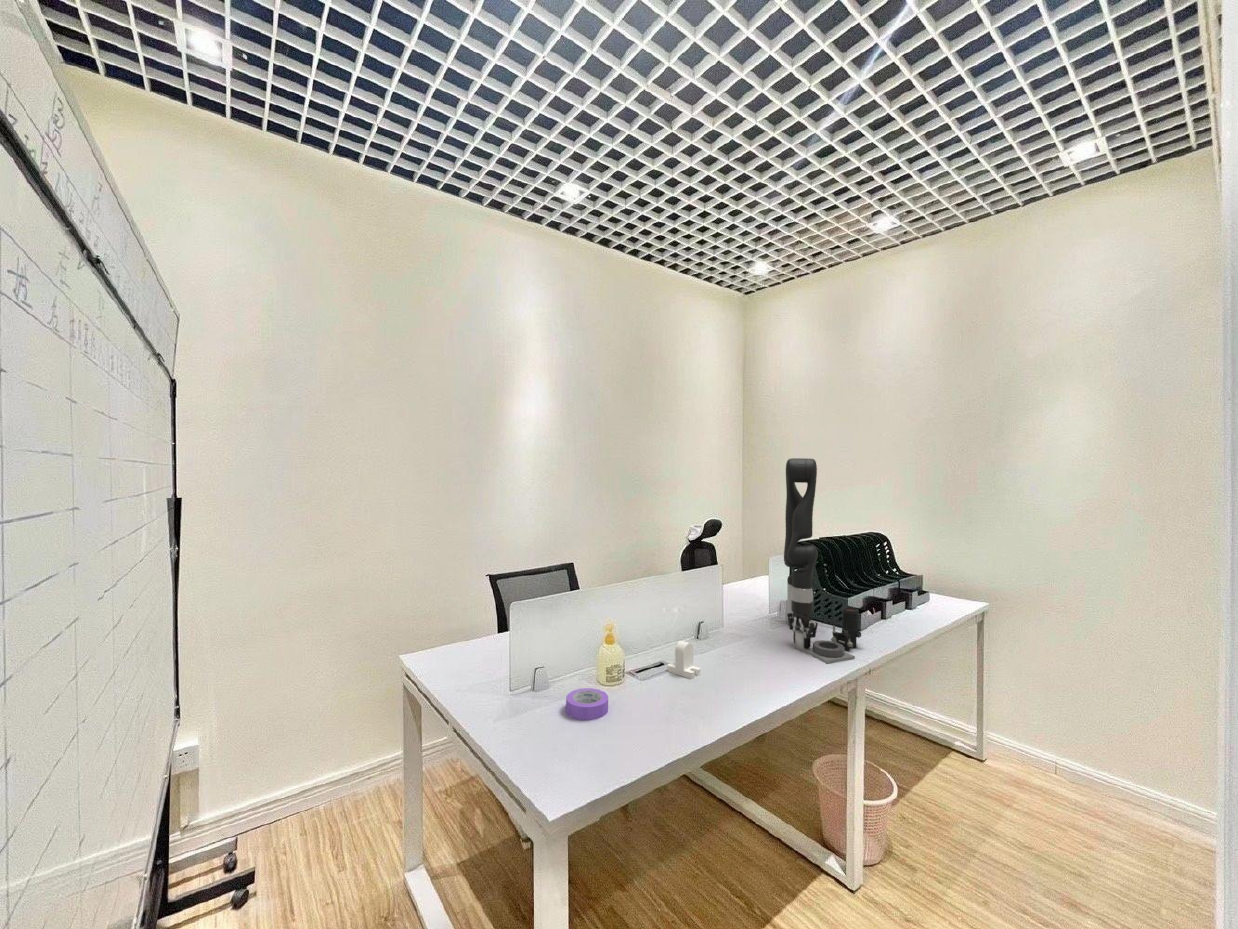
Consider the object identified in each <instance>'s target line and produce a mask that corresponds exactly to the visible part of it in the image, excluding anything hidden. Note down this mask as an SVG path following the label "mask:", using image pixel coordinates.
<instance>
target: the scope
mask: <svg viewBox="0 0 1238 929" xmlns="http://www.w3.org/2000/svg"><path fill="white" fill-rule="evenodd" d="M842 612H843V614H842V625H841V632H839V631H838V632H837V631H836V625H833V626H832V632H831V633H832V637H831V639H830V641H833V642H837V643H839V644H842V645H843V646H844V648H845V652H850V650H851V649H856V648H857V638H861V637H862V632H861V631H860V628H859V613H860V611H859V609H858V608H856V607H850V606H845V607H843V608H842Z"/></svg>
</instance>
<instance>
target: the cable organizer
mask: <svg viewBox="0 0 1238 929" xmlns="http://www.w3.org/2000/svg"><path fill="white" fill-rule="evenodd" d="M674 650H675V651H674V654H675V655H674V657H675V658H674V661H673V663H668V664H667V672H668V673H669V672H670V673H672V674H675V675H678V676H680V677H684V678H687V679H689V680H692V679H695V676H696V677H697V676H698V677H699V676H700V675H701V667H698V666H695V665H694V645H693V643H691V642H687V641H683V640H679V641H677V644H676V646H675V649H674Z"/></svg>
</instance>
